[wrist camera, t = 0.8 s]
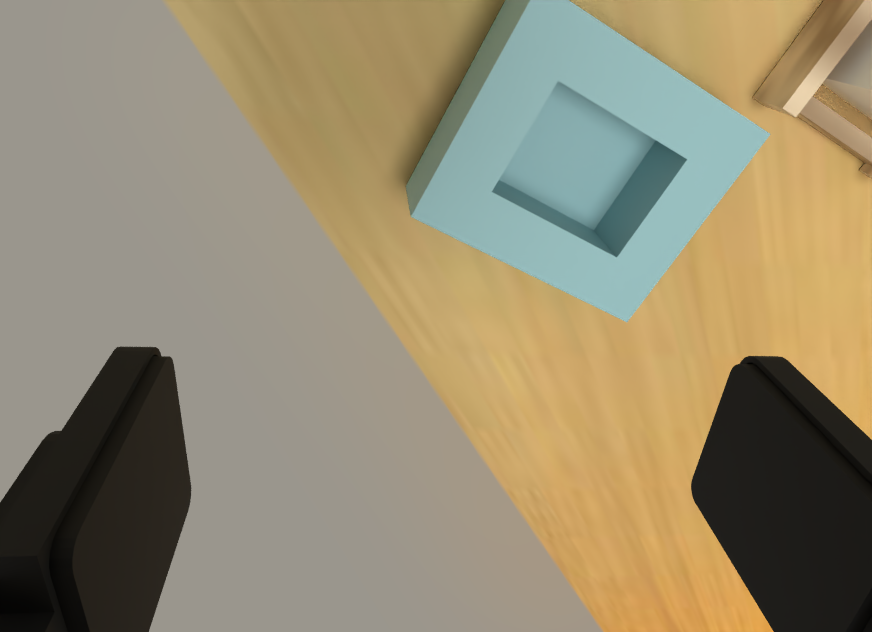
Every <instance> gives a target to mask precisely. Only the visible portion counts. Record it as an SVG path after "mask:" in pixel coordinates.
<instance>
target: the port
mask: <svg viewBox="0 0 872 632" xmlns="http://www.w3.org/2000/svg"><path fill="white" fill-rule="evenodd" d="M769 135H770V133H768V132H767V131H765V130H763V129H762V128H760V127H759V126H757V125H756V124H754V123H753V122H751V121H750V120H748V119H747V118H745V117H744V116H742V115H741V114H739V113H738V112H736V111H735V110H733V109H732V108H730V107H729V106H727V105H726V104H724V103H723V102H721V101H720V100H718V99H717V98H715V97H714V96H712V95H711V94H709V93H708V92H706V91H705V90H703V89H702V88H700V87H699V86H697V85H696V84H694V83H693V82H691V81H690V80H688V79H687V78H685V77H684V76H682V75H681V74H679V73H677V72H676V71H674V70H673V69H671V68H670V67H668V66H667V65H665V64H664V63H662V62H661V61H659V60H658V59H656V58H655V57H653V56H652V55H650V54H649V53H647V52H646V51H644V50H643V49H641V48H640V47H638V46H637V45H635V44H634V43H632V42H631V41H629V40H628V39H626V38H625V37H623V36H622V35H620V34H619V33H617V32H616V31H614V30H613V29H611V28H610V27H608V26H607V25H605V24H604V23H602V22H601V21H599V20H598V19H596V18H594V17H593V16H591V15H590V14H588V13H587V12H585V11H584V10H582V9H581V8H579V7H578V6H576V5H575V4H573V3H572V2H570V1H569V0H505V2H504V4H503V6H502V8H501V9H500V11H499V13H498V15H497V17H496V19H495V21H494V22H493V24H492V26H491V28H490V30H489V32H488V34H487V36H486V37H485V39H484V41H483V43H482V45H481V47H480V49H479V50H478V52H477V54H476V56H475V58H474V60H473V62H472V64H471V65H470V67H469V69H468V71H467V73H466V75H465V77H464V78H463V80H462V82H461V84H460V86H459V88H458V90H457V92H456V93H455V95H454V97H453V99H452V101H451V103H450V105H449V106H448V108H447V110H446V112H445V114H444V116H443V118H442V120H441V121H440V123H439V125H438V127H437V129H436V131H435V133H434V134H433V136H432V138H431V140H430V142H429V144H428V146H427V148H426V149H425V151H424V153H423V155H422V157H421V159H420V161H419V162H418V164H417V166H416V168H415V170H414V172H413V174H412V176H411V177H410V179H409V181H408V183H407V185H406V191H407V197H408V203H409V209H410V215H411V217H412V218H414V219H416V220H418V221H420V222H422V223H425V224H427V225H429V226H431V227H433V228H435V229H437V230H439V231H441V232H443V233H445V234H447V235H449V236H451V237H453V238H455V239H457V240H459V241H461V242H464V243H466V244H468V245H470V246H472V247H474V248H476V249H478V250H480V251H482V252H484V253H486V254H488V255H490V256H492V257H494V258H496V259H498V260H500V261H502V262H505V263H507V264H509V265H511V266H513V267H515V268H517V269H519V270H521V271H523V272H525V273H527V274H529V275H531V276H533V277H535V278H537V279H539V280H541V281H544V282H546V283H548V284H550V285H552V286H554V287H556V288H558V289H560V290H562V291H564V292H566V293H568V294H570V295H572V296H574V297H576V298H578V299H580V300H582V301H585V302H587V303H589V304H591V305H593V306H595V307H597V308H599V309H601V310H603V311H605V312H607V313H609V314H611V315H613V316H615V317H617V318H619V319H621V320H623V321H626V322H628V320H629V319H630V318H631V316H632V315H633V314H634V312H635V311H636V310H637V308H638V307H639V306H640V305H641V303H642V302H643V301H644V299H645V298H646V297H647V295H648V294H649V293H650V291H651V290H652V289H653V287H654V286H655V285H656V284H657V282H658V281H659V280H660V278H661V277H662V276H663V274H664V273H665V272H666V270H667V269H668V268H669V267H670V265H671V264H672V263H673V261H674V260H675V259H676V257H677V256H678V255H679V253H680V252H681V251H682V249H683V248H684V247H685V246H686V244H687V243H688V242H689V240H690V239H691V238H692V236H693V235H694V234H695V232H696V231H697V230H698V228H699V227H700V226H701V225H702V223H703V222H704V221H705V219H706V218H707V217H708V215H709V214H710V213H711V211H712V210H713V209H714V207H715V206H716V205H717V204H718V202H719V201H720V200H721V198H722V197H723V196H724V194H725V193H726V192H727V190H728V189H729V188H730V187H731V185H732V184H733V183H734V181H735V180H736V179H737V177H738V176H739V175H740V173H741V172H742V171H743V169H744V168H745V167H746V166H747V164H748V163H749V162H750V160H751V159H752V158H753V156H754V155H755V154H756V152H757V151H758V150H759V148H760V147H761V146H762V145H763V143H764V142H765V141H766V139H767V138H768V137H769Z"/></svg>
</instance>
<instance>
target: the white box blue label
mask: <svg viewBox="0 0 872 632" xmlns="http://www.w3.org/2000/svg"><path fill="white" fill-rule="evenodd" d="M822 85H824V86H825V87H827V88H828V89H829V90H831V91H832V92H834V93H835V94H836V95H838V96H839V97H840V98H842V99H843V100H845V101H846V102H847V103H849V104H850V105H852V106H853V107H854V108H856V109H857V110H858V111H860V112H861V113H863V114H864V115H865V116H867V117H868V118H870V119H871V120H872V20H871V21H870V22H869V23H868V25H867V26H866V27H865V29H864V30H863V31H862V33H861V34H860V35H859V36H858V38H857V39H856V40H855V42H854V43H853V44H852V45H851V47H850V48H849V49H848V51H847V52H846V53H845V55H844V56H843V57H842V58H841V60H840V61H839V62H838V64H837V65H836V66H835V68H834V69H833V70H832V71H831V73H830V74H829V75H828V77H827V78H826V79H825V80H824V82H823V83H822Z"/></svg>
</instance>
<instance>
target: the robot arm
mask: <svg viewBox="0 0 872 632" xmlns="http://www.w3.org/2000/svg"><path fill="white" fill-rule="evenodd" d="M691 490H692V496H693V499H694V501H695V503H696V505H697V506H698V508H699V510H700V511H701V513H702V515H703V516H704V518H705V519H706V521H707V523H708V524H709V526H710V528H711V529H712V531H713V533H714V534H715V536H716V537H717V539H718V541H719V542H720V544H721V546H722V547H723V549H724V551H725V552H726V554H727V556H728V557H729V559H730V560H731V562H732V564H733V565H734V567H735V569H736V570H737V572H738V574H739V575H740V577H741V579H742V580H743V582H744V583H745V585H746V587H747V588H748V590H749V592H750V593H751V595H752V597H753V598H754V600H755V602H756V603H757V605H758V606H759V608H760V610H761V611H762V613H763V615H764V616H765V618H766V620H767V621H768V623H769V625H770V626H771V628H772V629H773V631H774V632H872V440H871V439H870V438H869V437H868V436H867V435H866V434H865V433H864V432H863V431H862V430H861V429H860V428H859V427H857V426H856V425H855V424H854V423H853V422H852V421H851V420H850V419H849V418H848V417H847V416H846V415H845V414H844V413H843V412H842V411H841V410H839V409H838V408H837V407H836V406H835V405H834V404H833V403H832V402H831V401H830V400H829V399H828V398H827V397H826V396H825V395H824V394H823V393H821V392H820V391H819V390H818V389H817V388H816V387H815V386H814V385H813V384H812V383H811V382H810V381H809V380H808V379H807V378H806V377H804V376H803V375H802V374H801V373H800V372H799V371H798V370H797V369H796V368H795V367H794V366H793V365H792V364H791V363H790V362H789V361H788V360H786V359H785V358H783V357H778V356H748V357H745V358H744V359H743V360H742V361H741V363H740V364H738V365H735V366H734V367H733V368H732V370H731V372H730V375H729V377H728V380H727V383H726V386H725V389H724V391H723V394H722V397H721V400H720V403H719V405H718V408H717V411H716V414H715V417H714V420H713V422H712V425H711V428H710V431H709V434H708V436H707V439H706V442H705V445H704V448H703V450H702V453H701V456H700V459H699V462H698V465H697V467H696V470H695V473H694V476H693V479H692V483H691ZM190 499H191V482H190V475H189V468H188V461H187V454H186V447H185V440H184V433H183V426H182V419H181V412H180V405H179V399H178V391H177V384H176V377H175V370H174V364H173V360H172V358H171V357H161V353H160V351H159V349H158V348H156V347H117V348H116V349H115V350H114V351H113V353H112V354H111V356H110V357H109V359H108V360H107V362H106V363H105V365H104V367H103V368H102V370H101V371H100V373H99V374H98V376H97V377H96V379H95V380H94V382H93V383H92V385H91V386H90V388H89V390H88V391H87V393H86V394H85V396H84V397H83V399H82V400H81V402H80V403H79V405H78V406H77V408H76V409H75V411H74V412H73V414H72V415H71V417H70V419H69V420H68V422H67V423H66V425H65V426H64V428H63V429H62V431H54V432H52V433H50V434H48V435H47V436H46V437H45V439H44V440H43V441H42V442H41V444H40V445H39V447H38V448H37V449H36V451H35V452H34V454H33V455H32V457H31V458H30V460H29V461H28V463H27V464H26V465H25V467H24V469H23V470H22V471H21V473H20V474H19V476H18V477H17V479H16V480H15V482H14V483H13V485H12V486H11V488H10V489H9V491H8V492H7V494H6V495H5V497H4V498H3V499H2V501H1V502H0V632H149V629H150V626H151V623H152V620H153V617H154V614H155V610H156V607H157V604H158V601H159V598H160V595H161V592H162V589H163V586H164V583H165V580H166V577H167V574H168V571H169V568H170V565H171V561H172V558H173V555H174V552H175V549H176V546H177V543H178V540H179V537H180V534H181V531H182V527H183V525H184V522H185V518H186V516H187V513H188V509H189V505H190Z"/></svg>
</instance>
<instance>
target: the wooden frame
mask: <svg viewBox="0 0 872 632" xmlns="http://www.w3.org/2000/svg"><path fill="white" fill-rule="evenodd" d="M871 20H872V0H824V1H823V2H822V3H821V5H820V6H819V7H818V9H817V10H816V12H815V13H814V14H813V16H812V17H811V18H810V20H809V21H808V22H807V24H806V25H805V27H804V28H803V29H802V31H801V32H800V33H799V35H798V36H797V37H796V39H795V40H794V42H793V43H792V44H791V46H790V47H789V48H788V50H787V51H786V53H785V54H784V55H783V57H782V58H781V59H780V61H779V62H778V63H777V65H776V66H775V68H774V69H773V70H772V72H771V73H770V74H769V76H768V77H767V78H766V80H765V81H764V83H763V84H762V85H761V87H760V88H759V89H758V91H757V92H756V93H755V95H754V96H753V98H754V99H755V100H757V101H758V102H759V103H761V104H762V105H764V106H766V107H768V108H771V109H774V110H777V111H779V112H782V113H785V114H788V115H790V116H793V117H797V116H798V117H799V118H801V119H802V120H804V121H805V122H806V123H808V124H809V125H811V126H812V127H814V128H815V129H817V130H818V131H820V132H821V133H822V134H824V135H825V136H827V137H828V138H830V139H831V140H833V141H834V142H836V143H837V144H838V145H840V146H841V147H843V148H844V149H846V150H847V151H849V152H850V153H852V154H853V155H854V156H856V157H857V158H859V159H860V160H862V161H863V162H865V163H864V165H863V166H862V167H861V168H860V169H859V170H860V171H861V172H863V173H864V174H865V175H867V176H868V177H870V178H872V138H871V137H870V136H868V135H867V134H866V133H864V132H863V131H861V130H860V129H859V128H857V127H856V126H854V125H853V124H852V123H850V122H849V121H847V120H846V119H844V118H843V117H842V116H840V115H839V114H837V113H836V112H835V111H833V110H832V109H830V108H829V107H828V106H826V105H825V104H823V103H822V102H820V101H819V100H818V99H816V98H815V97H813V95H814V93H815V92H816V91H817V90H818V88H819V87H820V86H821V84H822V83H823V82H824V80H825V79H826V78H827V77H828V75H829V74H830V73H831V71H832V70H833V69H834V68H835V66H836V65H837V64H838V62H839V61H840V60H841V58H842V57H843V56H844V55H845V53H846V52H847V51H848V49H849V48H850V47H851V45H852V44H853V43H854V42H855V40H856V39H857V38H858V36H859V35H860V34H861V33H862V31H863V30H864V29H865V27H866V26H867V25H868V23H869V22H870V21H871Z"/></svg>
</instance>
